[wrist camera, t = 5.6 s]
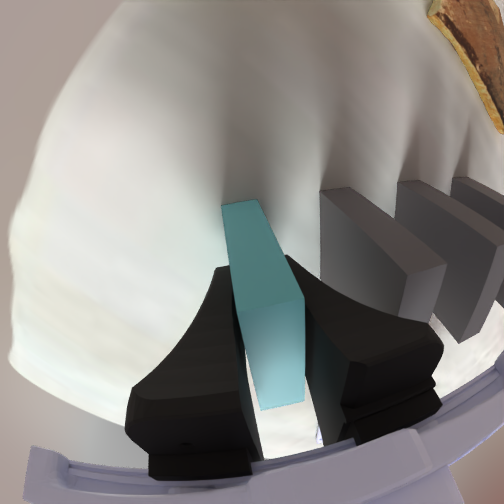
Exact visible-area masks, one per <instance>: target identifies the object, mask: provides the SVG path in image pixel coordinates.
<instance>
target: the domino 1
mask: <svg viewBox="0 0 504 504" xmlns="http://www.w3.org/2000/svg"><path fill="white" fill-rule="evenodd" d="M221 209H222V216H223V223H224V230H225V237H226V244H227V251H228V258H229V265H230V272H231V278H232V285H233V291H234V298H235V304H236V311H237V315H238V320H239V324H240V328H241V333H242V337H243V341H244V345H245V350H246V354H247V358H248V362H249V366H250V370H251V374H252V378H253V382H254V386H255V390H256V394H257V398H258V402H259V406H260V410H261V411H262V410H267V409H272V408H277V407H281V406H286V405H290V404H294V403H298V402H303V401H304V400H305V298H304V296H303V294H302V292H301V290H300V287H299V285H298V283H297V281H296V279H295V277H294V275H293V273H292V270H291V268H290V266H289V264H288V262H287V260H286V258H285V256H284V254H283V252H282V250H281V247H280V245H279V243H278V241H277V239H276V237H275V235H274V233H273V231H272V229H271V227H270V225H269V223H268V221H267V219H266V217H265V215H264V213H263V211H262V209H261V207H260V205H259V203H258V201H257V199H254V200H248V201H243V202H237V203H232V204H226V205H221Z"/></svg>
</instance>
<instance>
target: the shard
mask: <svg viewBox="0 0 504 504" xmlns="http://www.w3.org/2000/svg"><path fill="white" fill-rule="evenodd" d="M427 17H428V19H429V20H430V21H431V23H432V24H433V25H435V26H436V27H437V28H438V29H439V30H440V31H441V32H442V34H443V35H444V36H445V37H446V38H447V39H448V40H449V41H450V42H451V43H452V45H453V46H454V48H455V50H456V51H457V53H458V55H459V57H460V58H461V60H462V62H463V64H464V65H465V67H466V69H467V71H468V73H469V75H470V78H471V79H472V81H473V83H474V85H475V87H476V89H477V91H478V93H479V95H480V97H481V99H482V101H483V103H484V106H485V108H486V110H487V112H488V114H489V116H490V118H491V119H492V121H493V122H494V124H495V127H496V128H497V130H498V131H499V132H500V133H501V134H504V25H503V22H502V17H501V13H500V10H499V8H498V6H497V5H496V4H495V2H494V1H493V0H434V1H433V3H432V5H431V7H430V10H429V11H428V14H427Z"/></svg>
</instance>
